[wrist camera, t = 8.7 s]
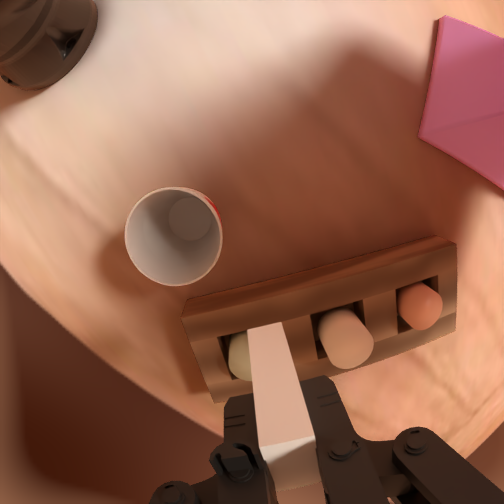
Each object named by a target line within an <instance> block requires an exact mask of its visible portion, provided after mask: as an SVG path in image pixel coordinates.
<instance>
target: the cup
mask: <svg viewBox="0 0 504 504" xmlns="http://www.w3.org/2000/svg"><path fill="white" fill-rule="evenodd" d="M222 242H223V234H222V222H221V218H220V214H219V212H218V210H217V208H216V206H215V205H214V204H213V202H212V201H211V200H210V199H209V198H208V197H207V196H205V195H204V194H203V193H201V192H199V191H197V190H194V189H191V188H186V187H165V188H160V189H157V190H154V191H152V192H150V193H148V194H146V195H145V196H143V197H142V198H141V199H140V200H139V201H138V202H137V203H136V204H135V205H134V207H133V208H132V210H131V212H130V214H129V216H128V218H127V221H126V226H125V244H126V248H127V252H128V254H129V257H130V259H131V260H132V262H133V264H134V265H135V266H136V268H137V269H138V270H139V271H140V272H141V273H142V274H143V275H145V276H146V277H147V278H149V279H151V280H152V281H155V282H157V283H160V284H163V285H167V286H183V285H188V284H191V283H194V282H196V281H198V280H200V279H201V278H203V277H204V276H205V275H207V274H208V273H209V272H210V271H211V269H212V268H213V267H214V265H215V264H216V262H217V260H218V258H219V256H220V253H221V249H222Z"/></svg>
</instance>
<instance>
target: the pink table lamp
mask: <svg viewBox="0 0 504 504" xmlns="http://www.w3.org/2000/svg"><path fill="white" fill-rule="evenodd" d="M417 137H418V138H420V139H422V140H423V141H425V142H427V143H429V144H431V145H433V146H434V147H436V148H438V149H440V150H441V151H443V152H445V153H447V154H448V155H450V156H452V157H453V158H455V159H457V160H458V161H460V162H461V163H463V164H465V165H466V166H468V167H469V168H471V169H473V170H474V171H476V172H477V173H479V174H480V175H482V176H483V177H485V178H486V179H488V180H489V181H491V182H492V183H494V184H495V185H496V186H498V187H499V188H501V189H502V190H504V39H503V38H501V37H499V36H497V35H495V34H492V33H490V32H488V31H485V30H483V29H481V28H478V27H476V26H473V25H471V24H468V23H466V22H463V21H460V20H458V19H455V18H452V17H449V16H446V15H445V16H443V17H442V18H440V19H439V25H438V33H437V40H436V47H435V54H434V60H433V66H432V71H431V77H430V82H429V87H428V92H427V97H426V102H425V107H424V111H423V116H422V120H421V124H420V128H419V132H418V136H417Z"/></svg>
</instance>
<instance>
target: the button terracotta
mask: <svg viewBox="0 0 504 504" xmlns="http://www.w3.org/2000/svg"><path fill="white" fill-rule="evenodd" d="M395 292H396V308H397V313H398V314H399V315H400V316H401V317H402V318H403V319H404V320H405V321H406V322H407V323H408V324H409V325H410V326H411V327H412V328H414V329H415V330H425V329H427V328H429V327H431V326H432V325H433V324H434V323H435V322H436V321H437V320H438V318H439V316H440V314H441V312H442V307H443V302H442V298H441V296H440V295H439V294H438V293H437V292H435V291H434V290H432V289H431V288H429V287H428V286H426V285H425V284H424V283H422V282H421V281H418V282H415V283H412V284H409V285H406V286H403V287H400V288H397V289H395Z"/></svg>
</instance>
